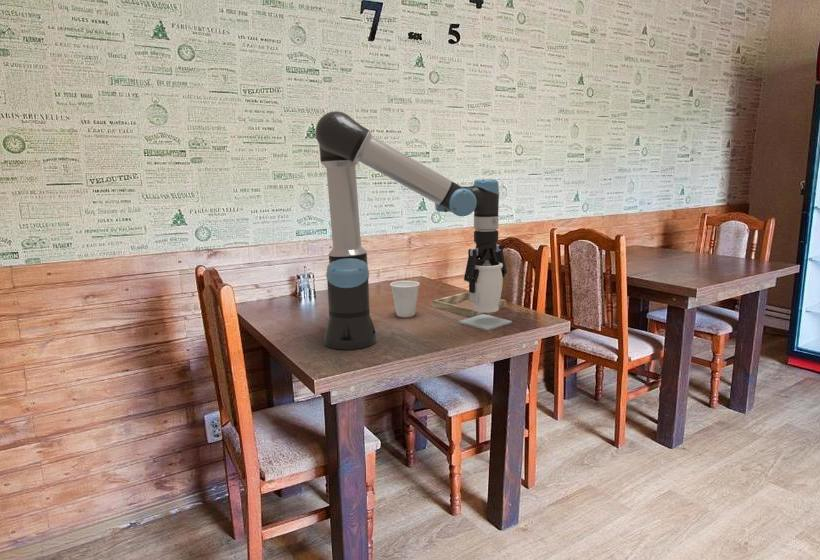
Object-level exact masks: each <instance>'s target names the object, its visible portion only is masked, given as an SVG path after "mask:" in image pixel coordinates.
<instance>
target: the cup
mask: <svg viewBox="0 0 820 560" xmlns="http://www.w3.org/2000/svg"><path fill="white" fill-rule="evenodd" d="M389 285H390V288H391V292H392V296H393V303H394V309H395V313H396V316H397V317H399V318H411V317H413V316H415V315H416V306H417V301H418V293H419V289H420V288H419V287H420V285H421V284H420V282H418V281H416V280H396V281H392V282H391V283H390V284H389Z"/></svg>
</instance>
